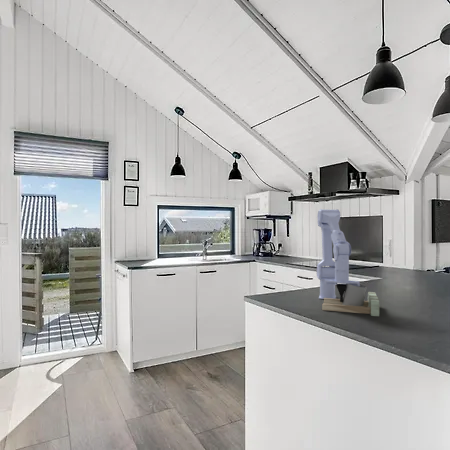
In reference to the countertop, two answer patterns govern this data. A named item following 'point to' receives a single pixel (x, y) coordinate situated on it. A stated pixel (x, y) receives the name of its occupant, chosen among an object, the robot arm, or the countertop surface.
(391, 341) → the countertop surface
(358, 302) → the cup
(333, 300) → the wooden tray
